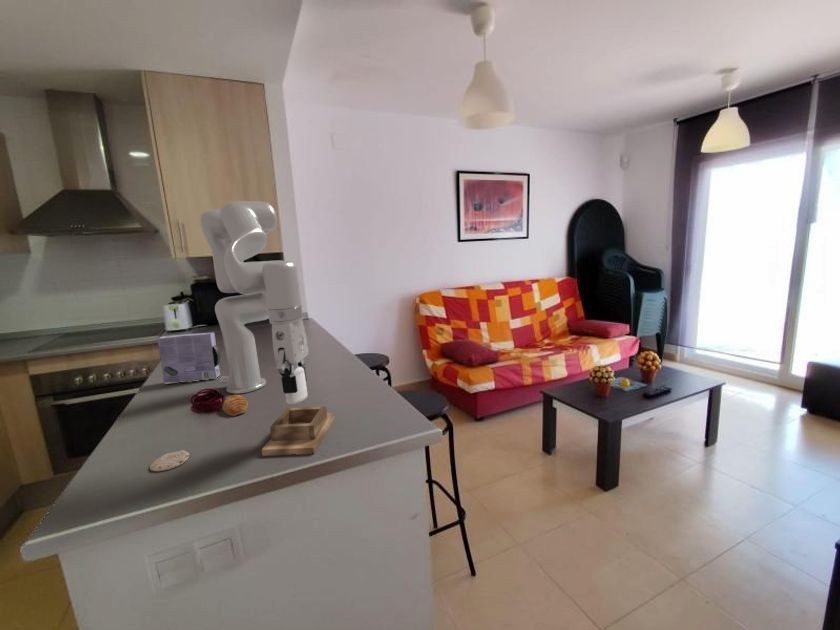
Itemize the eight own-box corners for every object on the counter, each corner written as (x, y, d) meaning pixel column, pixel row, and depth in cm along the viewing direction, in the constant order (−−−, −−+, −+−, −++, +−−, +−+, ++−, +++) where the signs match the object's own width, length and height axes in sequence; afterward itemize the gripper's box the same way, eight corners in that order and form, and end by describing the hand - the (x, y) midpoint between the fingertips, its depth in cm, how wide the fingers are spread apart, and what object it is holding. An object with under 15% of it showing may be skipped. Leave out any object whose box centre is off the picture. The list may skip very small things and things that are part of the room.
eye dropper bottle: (311, 399, 94) (305, 352, 92) (288, 406, 91) (281, 357, 89) (305, 394, 97) (299, 349, 95) (283, 401, 94) (276, 354, 92)
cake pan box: (224, 375, 148) (216, 330, 145) (219, 379, 143) (211, 333, 140) (170, 381, 145) (161, 335, 142) (163, 385, 140) (154, 339, 137)
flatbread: (177, 471, 84) (176, 467, 84) (142, 474, 84) (141, 470, 83) (197, 451, 92) (196, 447, 92) (164, 454, 91) (164, 450, 91)
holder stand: (262, 455, 87) (259, 435, 86) (291, 419, 105) (289, 402, 104) (314, 453, 87) (311, 433, 86) (334, 417, 104) (332, 400, 103)
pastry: (252, 412, 112) (250, 400, 111) (227, 420, 108) (225, 407, 107) (245, 403, 119) (243, 391, 119) (221, 409, 116) (219, 397, 115)
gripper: (287, 321, 82) (298, 401, 85) (313, 307, 98) (321, 374, 102) (253, 323, 82) (265, 402, 85) (284, 309, 99) (293, 376, 102)
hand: (295, 386), depth 93 cm, fingers closed on eye dropper bottle, 5 cm apart
